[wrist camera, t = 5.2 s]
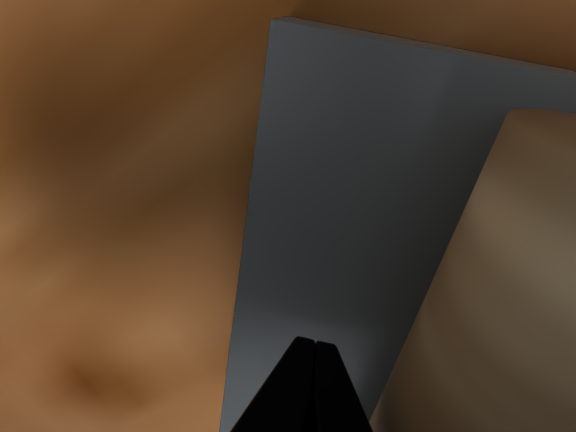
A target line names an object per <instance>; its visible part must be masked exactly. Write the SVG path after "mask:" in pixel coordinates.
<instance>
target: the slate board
mask: <svg viewBox="0 0 576 432" xmlns="http://www.w3.org/2000/svg"><path fill="white" fill-rule="evenodd" d="M516 108H541V109H550V110H558V111H565V112H571V113H576V71H573V70H568V69H563V68H557V67H552V66H547V65H542V64H536V63H531V62H526V61H521V60H515V59H510V58H505V57H500V56H494V55H489V54H484V53H479V52H473V51H468V50H463V49H458V48H452V47H447V46H442V45H437V44H431V43H426V42H421V41H416V40H410V39H405V38H400V37H395V36H389V35H384V34H379V33H373V32H368V31H363V30H358V29H352V28H347V27H342V26H337V25H331V24H326V23H321V22H316V21H310V20H305V19H300V18H295V17H289V16H287V17H281V18H275V19H271V22H270V30H269V38H268V46H267V54H266V62H265V70H264V78H263V86H262V94H261V102H260V110H259V118H258V126H257V134H256V142H255V150H254V158H253V166H252V174H251V182H250V190H249V198H248V206H247V214H246V222H245V230H244V238H243V246H242V253H241V261H240V269H239V277H238V285H237V293H236V301H235V309H234V317H233V325H232V333H231V341H230V349H229V357H228V365H227V373H226V381H225V389H224V397H223V405H222V413H221V421H220V429H219V432H230V431H231V429H232V428H233V426H234V425H235V424H236V422H237V421H238V419H239V418H240V416H241V415H242V413H243V412H244V410H245V409H246V408H247V406H248V405H249V403H250V402H251V400H252V399H253V397H254V396H255V395H256V393H257V392H258V390H259V389H260V387H261V386H262V384H263V383H264V382H265V380H266V379H267V377H268V376H269V374H270V373H271V371H272V370H273V369H274V367H275V366H276V364H277V363H278V361H279V360H280V358H281V357H282V355H283V354H284V353H285V351H286V350H287V348H288V347H289V345H290V344H291V342H292V341H293V340H294V338H295V337H297V336H301V337H306V338H310V339H314V340H315V343H316V342H317V341H324V342H328V343H333V344H335V345H336V346H337V348H338V350H339V353H340V355H341V357H342V360H343V362H344V364H345V367H346V369H347V371H348V374H349V376H350V378H351V381H352V383H353V385H354V388H355V390H356V392H357V395H358V397H359V399H360V402H361V404H362V407H363V409H364V411H365V414H366V416H367V418H368V421H370V419H371V417H372V414H373V412H374V410H375V408H376V406H377V403H378V401H379V399H380V397H381V394H382V392H383V390H384V388H385V385H386V383H387V381H388V379H389V376H390V374H391V372H392V370H393V368H394V365H395V363H396V361H397V359H398V356H399V354H400V352H401V350H402V347H403V345H404V343H405V341H406V338H407V336H408V334H409V332H410V330H411V327H412V325H413V323H414V321H415V318H416V316H417V314H418V312H419V309H420V307H421V305H422V303H423V300H424V298H425V296H426V294H427V291H428V289H429V287H430V285H431V283H432V280H433V278H434V276H435V274H436V271H437V269H438V267H439V265H440V262H441V260H442V258H443V256H444V253H445V251H446V249H447V247H448V245H449V242H450V240H451V238H452V236H453V233H454V231H455V229H456V227H457V224H458V222H459V220H460V218H461V215H462V213H463V211H464V209H465V207H466V204H467V202H468V200H469V198H470V195H471V193H472V191H473V189H474V186H475V184H476V182H477V180H478V177H479V175H480V173H481V171H482V169H483V166H484V164H485V162H486V160H487V157H488V155H489V153H490V151H491V148H492V146H493V144H494V142H495V139H496V137H497V135H498V133H499V130H500V128H501V126H502V124H503V122H504V119H505V117H506V115H507V113H508V112H509V111H510V110H512V109H516Z"/></svg>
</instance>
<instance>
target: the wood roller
mask: <svg viewBox="0 0 576 432" xmlns="http://www.w3.org/2000/svg"><path fill="white" fill-rule="evenodd" d="M369 423H370V425H371V428H372V430H373V432H576V113H571V112H565V111H558V110H550V109H541V108H516V109H512V110H510V111H509V112H508V113H507V115H506V117H505V119H504V122H503V124H502V126H501V128H500V130H499V133H498V135H497V137H496V139H495V142H494V144H493V146H492V148H491V151H490V153H489V155H488V157H487V160H486V162H485V164H484V166H483V169H482V171H481V173H480V175H479V177H478V180H477V182H476V184H475V186H474V189H473V191H472V193H471V195H470V198H469V200H468V202H467V204H466V207H465V209H464V211H463V213H462V215H461V218H460V220H459V222H458V224H457V227H456V229H455V231H454V233H453V236H452V238H451V240H450V242H449V245H448V247H447V249H446V251H445V253H444V256H443V258H442V260H441V262H440V265H439V267H438V269H437V271H436V274H435V276H434V278H433V280H432V283H431V285H430V287H429V289H428V291H427V294H426V296H425V298H424V300H423V303H422V305H421V307H420V309H419V312H418V314H417V316H416V318H415V321H414V323H413V325H412V327H411V330H410V332H409V334H408V336H407V338H406V341H405V343H404V345H403V347H402V350H401V352H400V354H399V356H398V359H397V361H396V363H395V365H394V368H393V370H392V372H391V374H390V376H389V379H388V381H387V383H386V385H385V388H384V390H383V392H382V394H381V397H380V399H379V401H378V403H377V406H376V408H375V410H374V412H373V414H372V417H371V419H370V421H369Z"/></svg>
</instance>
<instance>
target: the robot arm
mask: <svg viewBox="0 0 576 432" xmlns="http://www.w3.org/2000/svg"><path fill="white" fill-rule="evenodd" d="M230 432H373V430H372V428H371V425H370V423H369V421H368V418H367V416H366V414H365V411H364V409H363V407H362V404H361V402H360V399H359V397H358V395H357V392H356V390H355V388H354V385H353V383H352V381H351V378H350V376H349V374H348V371H347V369H346V367H345V364H344V362H343V360H342V357H341V355H340V353H339V350H338V348H337V346H336V345H335V344H333V343H328V342H324V341H317V342H316V343H315V340H314V339H310V338H306V337H301V336H297V337H295V338H294V340H293V341H292V342H291V344H290V345H289V347H288V348H287V350H286V351H285V353H284V354H283V355H282V357H281V358H280V360H279V361H278V363H277V364H276V366H275V367H274V369H273V370H272V371H271V373H270V374H269V376H268V377H267V379H266V380H265V382H264V383H263V384H262V386H261V387H260V389H259V390H258V392H257V393H256V395H255V396H254V397H253V399H252V400H251V402H250V403H249V405H248V406H247V408H246V409H245V410H244V412H243V413H242V415H241V416H240V418H239V419H238V421H237V422H236V424H235V425H234V426H233V428H232V429H231V431H230Z"/></svg>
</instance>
